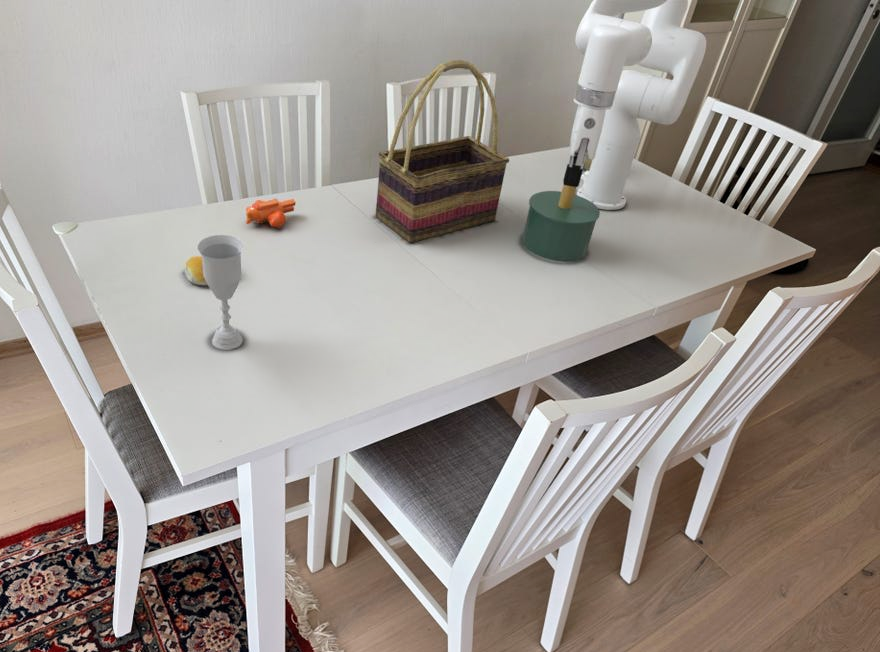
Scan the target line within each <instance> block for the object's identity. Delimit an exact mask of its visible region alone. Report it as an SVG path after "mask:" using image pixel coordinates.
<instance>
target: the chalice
mask: <svg viewBox="0 0 880 652" xmlns="http://www.w3.org/2000/svg"><path fill="white" fill-rule="evenodd" d="M197 250H198V252H199V254H200V255H201V257H202V264H203V275H204V278H205V280H206V282H207V284H208V285H207V287H208V288H209V289H210V290H211V292H212V294H213V295H214V297H215V299H217V300H219V301H221V305H220V307H219V309H220V310H221V312H222V314H221V315H220V317H219V318H220V319H221V320H222V322H223V324H222V325H220V326H218V327H217V329H215V333H214V335H213V337H212V339H211V343H212V345H213V346H214V347H215V348H216V349H219V350H223V351H229V350H230V351H231V350H235V349H236V348H239V347H240V346H241V345H242V343H243V337H242V336H241V335H242V334H241V333H240V332H239V329H238V328H237V327H235V326H234V325H233V324H230V319H231V318H232V315H231V314H229V313H230V312H229V310H230V309H231V306H230V305H229V302H228V300H231V299H232V298H233V296H234V294H235V292H236V290H237V288H238V286H239V284H240V281H241V278H242V255H241V253H242V252H243V250H244V243H243V242H242V240H240V239H239V238H237V237H235V236H232V235H227V234H216V235H211V236H208V237H205V238H203V239H202V240H201V241H199V243H198V244H197Z"/></svg>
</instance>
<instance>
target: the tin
mask: <svg viewBox="0 0 880 652" xmlns="http://www.w3.org/2000/svg"><path fill="white" fill-rule="evenodd" d="M596 222H597V220H596V221H595V222H593V223H590V224H585V225H569V224H563V223H558V222H554V221H551V220H549V219H546V218H544V217H542V216H540V215H538V214H537V213H536V212H534V211H533V210H532V209H531V207H530V206H529V209H528V212H527V216H526V221H525V225H524V228H523V233H522V234H523V235H522V238H521V241H522V244H523V246H524V247H525V248H526V249H527V251H529V252H530V253H532V254H534V255H535V256H537V257H541V258H543V259H546V260H550V261H554V262H575V261H578V260H581V259H583V258H584V257H585V256H586V255H587V252H588V249H589V247H590V246H589V245H590V242H591V239H592V235H593V232H594V229H595V226H596Z"/></svg>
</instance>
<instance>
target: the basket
mask: <svg viewBox="0 0 880 652" xmlns="http://www.w3.org/2000/svg"><path fill="white" fill-rule="evenodd" d="M455 69H464V70H469V71H470V73H471V74H472V76H474V78H475V79H476V84H477V87H478V91H479V117H478V124H477V133H476V138H474V137H473V136H470V135H467V136H466V135H465V136H461V137H455V138H450V139H445V140H440V141H435V142H430V143H425V144H420V145H413V141H414V135H415V130H416V126H417V123H418V120H419V117H420V114H421V111H422V108H423V105H424V103H425V102H426V99H427V97H428V95H429V93H430V91H431V90H432V88H433V86H434V84H435V83H436V82H437V80H438V79H439V78H440V76H442V73H446V72H448V71H451V70H455ZM426 85H427V86H426ZM483 86H484V87H483ZM424 88H425V89H424ZM484 89H485V91H486V94H487V95H488V98H489V101H490V107H491V113H492V118H493V120H492V121H493V122H492V124H493V125H492V128H493V129H492V130H493V131H492V132H493V133H492V135H493V136H492V148H491V147H489V146H487V145H486V144H484V143H482V142H481V141H482V140H481V139H482V131H483V126H484V117H485V91H484ZM422 91H423V93H422V95H421V97H420V98H419V100H418V103H417V106H416V109H415V111H414V115H413V118H412V121H411V124H410V126H409V127H410V128H409V132H408V133H409V134H408V139H407V145H406V147H403V148H402V147H401V148H397V149H396V145H397V142H398V140H399V135H400V133H401V129H402V125H403V122H404V120H405V119H406V117H407V115H408V113H409V111H410V109H411V107H412V105H413V103H414V101H415V99H416V98H417V97H418V96H419V95H420V93H421V92H422ZM495 98H496V97H495V96H494V93H493V90H492V89H491V87H490V84H489V82H488V80H487V78H486V77H485V76H484V75H483V74H482V72H480V70H479V69H478V68H477V67H476V66H475V64H473V63H471V62H468V61H467V60H462V59H453V60H448V61H445V62H443V63H441V64H439V65H438V66H437V67H436V68H435V69H434V70H432V71H431V72H430V73H429V74H428V75H426V76H425V77H424V78H423V80H422V81H421V82H420V84H419V85H418V86H417V87H416V89H415V90H414V92H413V93H412V95H410V97H409V98H408V101H407V102H406V105H405V106H404V108H403V110H402V112H401V115H399V118H398V120H397V124H396V126H395V130H394V134H393V137H392V139H391V144H390V147H389V150H384V151H380V152H379V153H378V157H379V169H378V182H377V193H376V194H377V195H376V204H375V205H376V207H375V218H376V219H378V220H379V221H380V222H382V223H383V224H384V225H386V226H387V227H388V228H390V229H391V230H392V231H393V232H395V233H396V234H397V235H399V236H400V237H402V238H403V239H404V240H405V241H407V242H408V243H411V244H412V243H415V242H419V241H423V240H427V239H430V238H434V237H438V236H442V235H446V234H449V233H453V232H457V231H461V230H464V229H468V228H469V229H470V228H472V227H476V226H479V225H484V224H487V223H491V222H494V221H496V218H497V213H498V207H499V203H500V198H501V193H502V188H503V183H504V178H505V174H506V168H507V165H508V164H509V163H510V158H509V157H507V156H505V155H503V154H501V153H500V151H498V136H499V134H498V133H499V132H498V131H499V130H498V129H499V127H498V123H499V117H498V111H497V104H496V99H495Z"/></svg>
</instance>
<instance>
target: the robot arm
mask: <svg viewBox="0 0 880 652" xmlns="http://www.w3.org/2000/svg"><path fill="white" fill-rule="evenodd" d="M688 6H689V1H688V0H592V2H591V3H590V5H589V7H588V8H587V10H586V12H585V13H584V15H583V17H582V18H581V21H580V23H579V25H578V27H577V29H576V33H575V38H574V39H575V47H576V49H577V51H578V52H579V54H580V53H581V54H582V55H584V57H583V61H582V64H581V69H580V73H579V78H578V81H577V84H576V89H575V92H574V97H573V103H575V104H576V105H577V109H576V112H575V116H574V120H573V125H572V130H571V134H570V135H571V136H570V140H569V154H570V157H569V160H568V163H567V164H566V169H565V173H564V177H563V180H562V181H563V183H562V184H563V185H567V186H573V187H577V189H576V195H578V196H580V197H583V198H585V199H587V200H589V201H591V202H592V203H593V204H595V205H596V206H597V207H598V209H599V210H607V211H615V210H616V211H617V210H620V209H622V208H624V207H625V206H626V204H627V198H626V197H625V196H624V195H623V193H624V189H625V186H626V183H627V180H628V178H629V174H630V171H631V168H632V164H633V161H634V158H635V155H636V152H637V149H638V146H639V143H640V139H641V128H640V125H639V122H638V119H640V120H644V121H648V122H652V123H656V124H660V125H664V126H670V125H673V124H674V123H675V122H676V121H677V120H678V119H679V117H680V116H681V114H682V111H683V109H684V107H685V105H686V102H687V100H688V97H689V95H690V93H691V90H692V88H693V85H694V83H695V81H696V78H697V76H698V73H699V70H700V69H701V65H702V63H703V60H704V57H705V54H706V50H707V38H706V36H705V35H704V34H703V33H702V32H700V31H697V30H693V29H690V28H685V27H681V24H682V22H683V19H684V17H685V14H686V12H687V10H688ZM641 11H644V13H643V16H642V18H641V21H640V23H639V22H635V21H631V20H627V19H623V18H620V17H615V16H618V15H619V16H620V15H622V14H629V13H636V12H641ZM635 65H637V66H640V67H643V68H646V69H649V70H654V71H658V72H662V73H666V74H670V75H671V76H672V77H673V78H672V79H670V78H666V77H661V76H657V75H655V74H652V73H647V72H643V71H639V70H634V69H626V70H624V67H632V66H635ZM587 153H588V157H589V159H591V160H592V163H591V167H590V170H589V171H587V170H585V171H584V169H583V166H584V163H585V159H586V156H587ZM583 171H584V173H583ZM581 181H582V185H581V186H579V185H580V183H581Z"/></svg>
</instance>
